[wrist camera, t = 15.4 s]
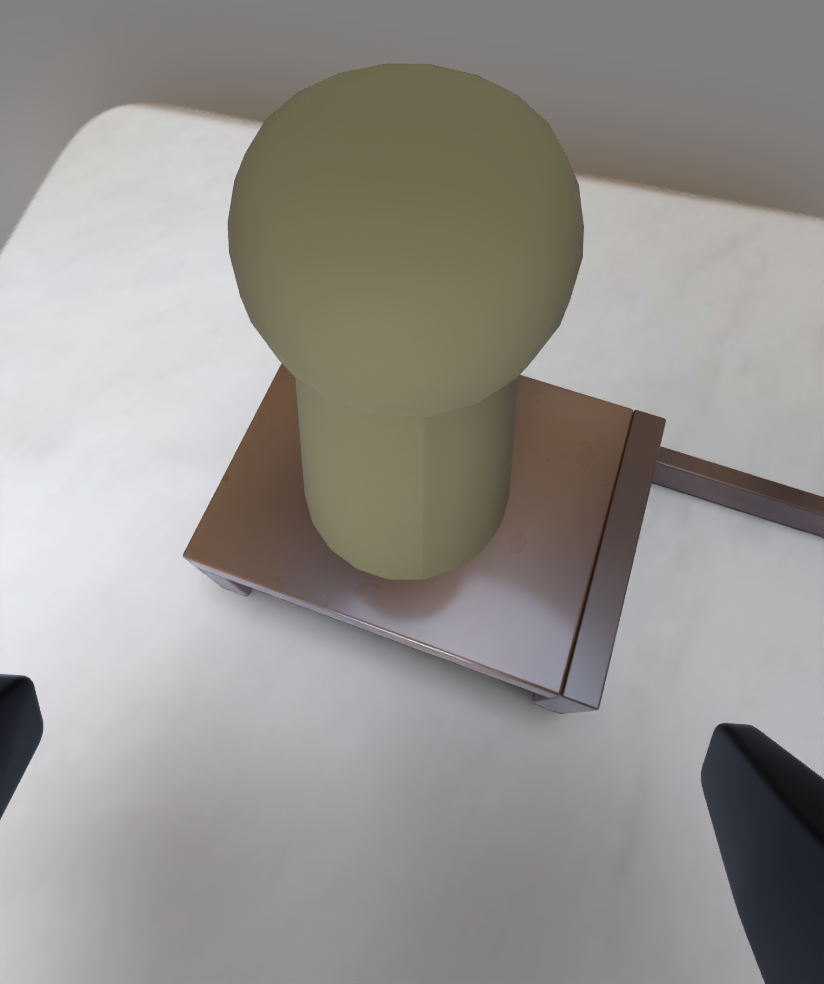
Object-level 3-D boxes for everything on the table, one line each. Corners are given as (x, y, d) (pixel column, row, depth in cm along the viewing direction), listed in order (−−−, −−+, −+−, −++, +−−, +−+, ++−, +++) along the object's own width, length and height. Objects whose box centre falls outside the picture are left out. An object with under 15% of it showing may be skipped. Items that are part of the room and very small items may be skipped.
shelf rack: (950, 559, 21) (1066, 523, 17) (940, 855, 18) (1080, 888, 14) (329, 363, 24) (314, 296, 20) (221, 587, 21) (180, 556, 17)
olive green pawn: (328, 377, 19) (237, -31, 9) (519, 406, 19) (654, 15, 8) (281, 561, 17) (87, 303, 7) (497, 597, 17) (642, 384, 6)
